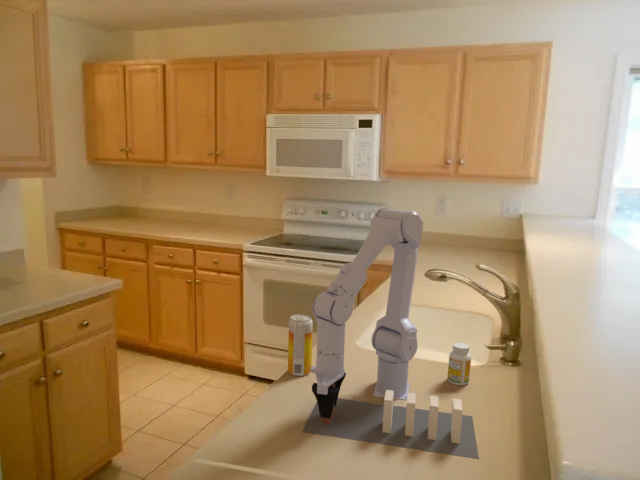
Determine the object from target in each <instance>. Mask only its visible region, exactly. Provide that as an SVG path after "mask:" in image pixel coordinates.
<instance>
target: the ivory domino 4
mask: <svg viewBox="0 0 640 480" xmlns="http://www.w3.org/2000/svg"><path fill="white" fill-rule="evenodd" d="M451 405H452V406H451V414H452V418H451V442H452V443H459V444H460V435H461V423H462V415H463V403H462V399H460V398H454V397H453V398H452V404H451Z"/></svg>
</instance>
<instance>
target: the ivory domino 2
mask: <svg viewBox="0 0 640 480" xmlns="http://www.w3.org/2000/svg"><path fill="white" fill-rule="evenodd" d="M416 396H417V393H415V392H409V393H408V398H407V400H406V407H407V410H406V426H405V436H412V437H413V430H414V416H415V409H416V400H417V398H416Z"/></svg>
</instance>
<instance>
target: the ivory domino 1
mask: <svg viewBox="0 0 640 480" xmlns="http://www.w3.org/2000/svg"><path fill="white" fill-rule="evenodd" d="M383 398H384V399H383V404H384V411H383V430H382V432H385V433H390V432H391V426H392V416H393V406H394V399H393V398H394V391H392V390H386V393H385V397H383Z"/></svg>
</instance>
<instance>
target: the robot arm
mask: <svg viewBox="0 0 640 480" xmlns="http://www.w3.org/2000/svg"><path fill="white" fill-rule="evenodd" d="M369 225H370V231H369V233H368V234H367V236H366V238H365V240H364V241H363V243H362V245H361V247H360V249H359V251H357V254H356V256H355V258H354V259H353V260H352V262H348V263H344V264H343V265H342V266H341V267H340V269H339V272H338V273H337V275H336V276H335V278H334V279H333V281H332V282H331V283H330V285H329V286H328V288H327V290H326V291H325V290H324V291H322V292H320V293H319V294H318V295H317V296H316V297H315V298H314V301H313V304H312V305H311V312H312V315H313V316H314V318H315V324H316V328H317V329H316V331H317V332H316V363H315V365H311V369H310V373H312V374H315V379H316V382H313V384H312V385H311V392H312V393H313V395H314V397H315V399H316V402H317V403H318V407H319V412H320V416H321V418H328V419H330V418H331V415H332V412H333V407H335V406H336V403H337V399H338V398H339V394H340V390H341V386H342V383H343V381H344V380H345V378H346V376H347V373H346V372H345V369H344V368H345V366H344V363H345V343H346V342H345V341H346V323H347V322H348V320H349V319H350V318H351V316H352V313H353V307H354V305H355V302H356V301H355V299H356V297H357V295H358V294H359V293H360V290H362V288H363V286H364V285H365V283H366V281H367V280H368V273H367V270H368V269H369V268H370V267H371V266H372V264H373V263H374V261H375V260H376V259H377V257H378V256H379V255H380V253H382V251H383V250H384V248H385V247H387V246H388V245H390V246H391V247H392V248H393V250H394V255H393V260H392V261H393V262H392V268H391V275H390V280H389V281H390V282H389V288H388V297H387V304H386V312H385V315H384V316H383V317H381V318H379V319H378V320H377V321H376V323H375V329H374V331H373V332H372V334H371V335H372V336H371V345H372V347H373V349H374V350H375V355H377V372H376V373H377V375H376V382H375V386H374V391H373V393H372V395H373V396H374V397H379V398H385V393H386V390H392V391H394V398H393V400H394V399H395V400H400V401H401V400H402V401H407V398H408V393H410V392H409V391H410V382H409V381H408V380H409V379H408V378H409V363H410V361H411V360H413V358H414V357H415V356H416V353H417V351H418V346H419V345H418V344H419V343H418V339H417V336H418V335H417V334H418V329H417V327H416V326H415V325H414V324H413V322H412V321H411V319H410V318H409V317H410V311H411V302H412V296H413V295H412V294H413V288H414V283H415V275H416V269H417V267H416V266H417V262H418V256H419V255H418V254H419V248H420V246H421V242H422V241H421V240H422V235H423V227H424V221H423V219H422V217H421V216H420V214H419V212H417V211H414V210H410V211H409V210H400V209H393V208H386V207H380V208H378V209H377V210H376V212H375V213H374V215H373V217H372V218H371V219H370V224H369ZM333 383H335V387H332V384H333Z"/></svg>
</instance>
